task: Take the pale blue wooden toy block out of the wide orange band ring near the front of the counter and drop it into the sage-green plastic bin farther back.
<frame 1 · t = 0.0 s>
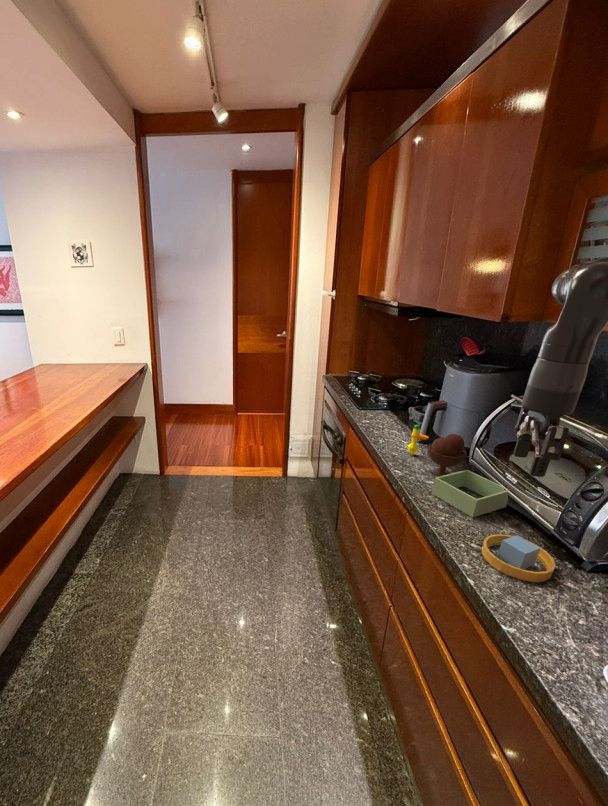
hand: (527, 465, 75), 26 cm above the worktop, tool pointing down, fingers open, 8 cm apart
wide orange band ring: (514, 563, 88), on the worktop
toy figure: (413, 457, 138), on the worktop
sage bin: (466, 502, 111), on the worktop
ice cream bowl: (440, 476, 125), on the worktop
toy block: (514, 562, 87), resting on wide orange band ring
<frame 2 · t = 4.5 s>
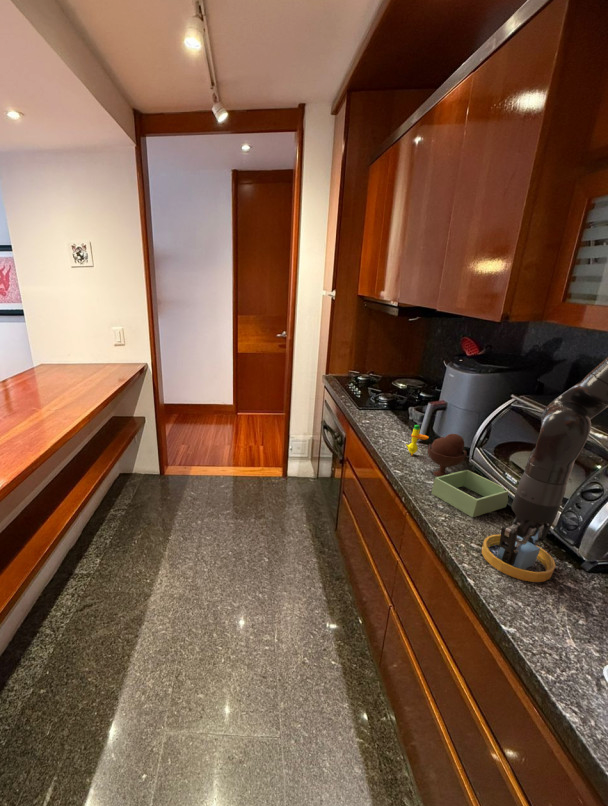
hand: (515, 559, 87), 1 cm above the worktop, tool pointing down, fingers closed on toy block, 5 cm apart
toy block: (514, 562, 87), resting on wide orange band ring, touching gripper
everything else where it was.
when the fingers open (2 cm above the worktop, at t = 15.1 s): toy block drops 1 cm, resting on sage bin.
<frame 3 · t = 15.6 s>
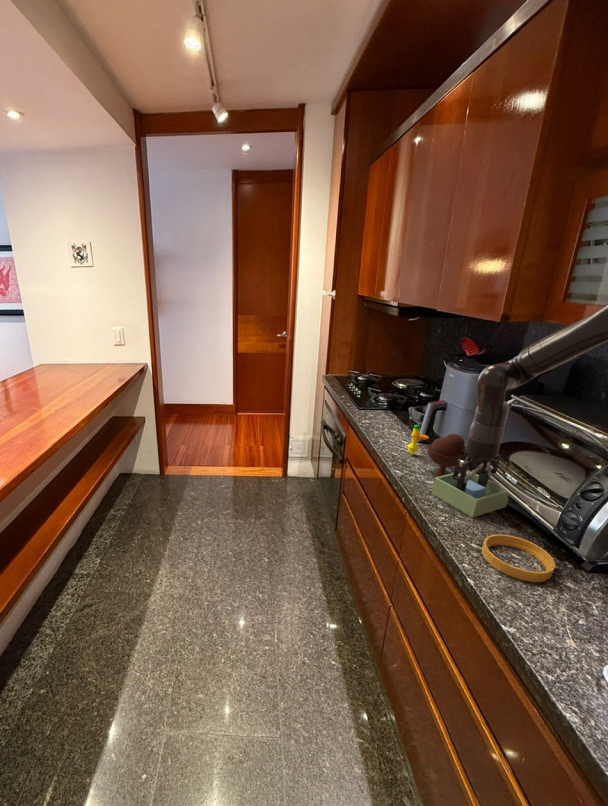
hand: (470, 489, 109), 4 cm above the worktop, tool pointing down, fingers open, 8 cm apart
toy block: (467, 500, 111), resting on sage bin
everything else where it was.
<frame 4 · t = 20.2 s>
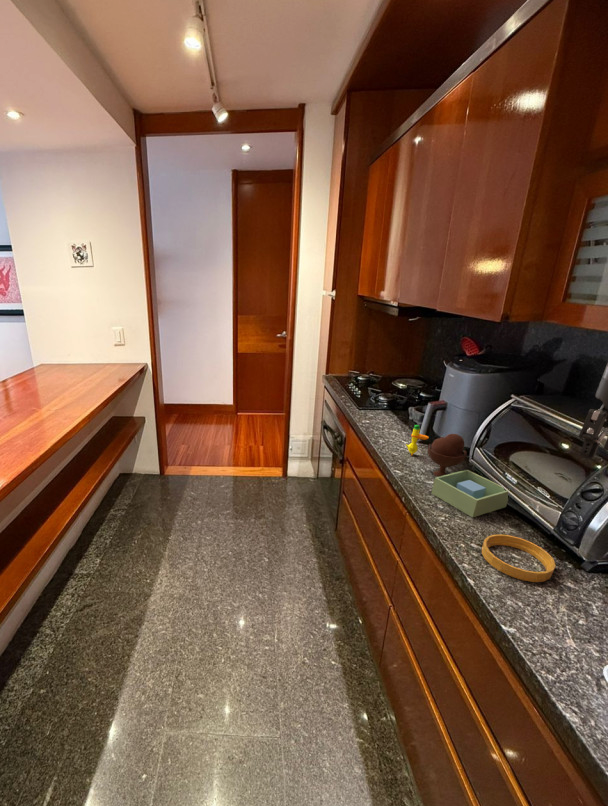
hand: (598, 454, 80), 26 cm above the worktop, tool pointing down, fingers open, 8 cm apart
nothing on the worktop moved.
at the end: toy block inside the target area in the sage bin (0.0 cm from its centre), point 0.5 cm above the sage bin's base; the gripper is holding nothing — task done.
